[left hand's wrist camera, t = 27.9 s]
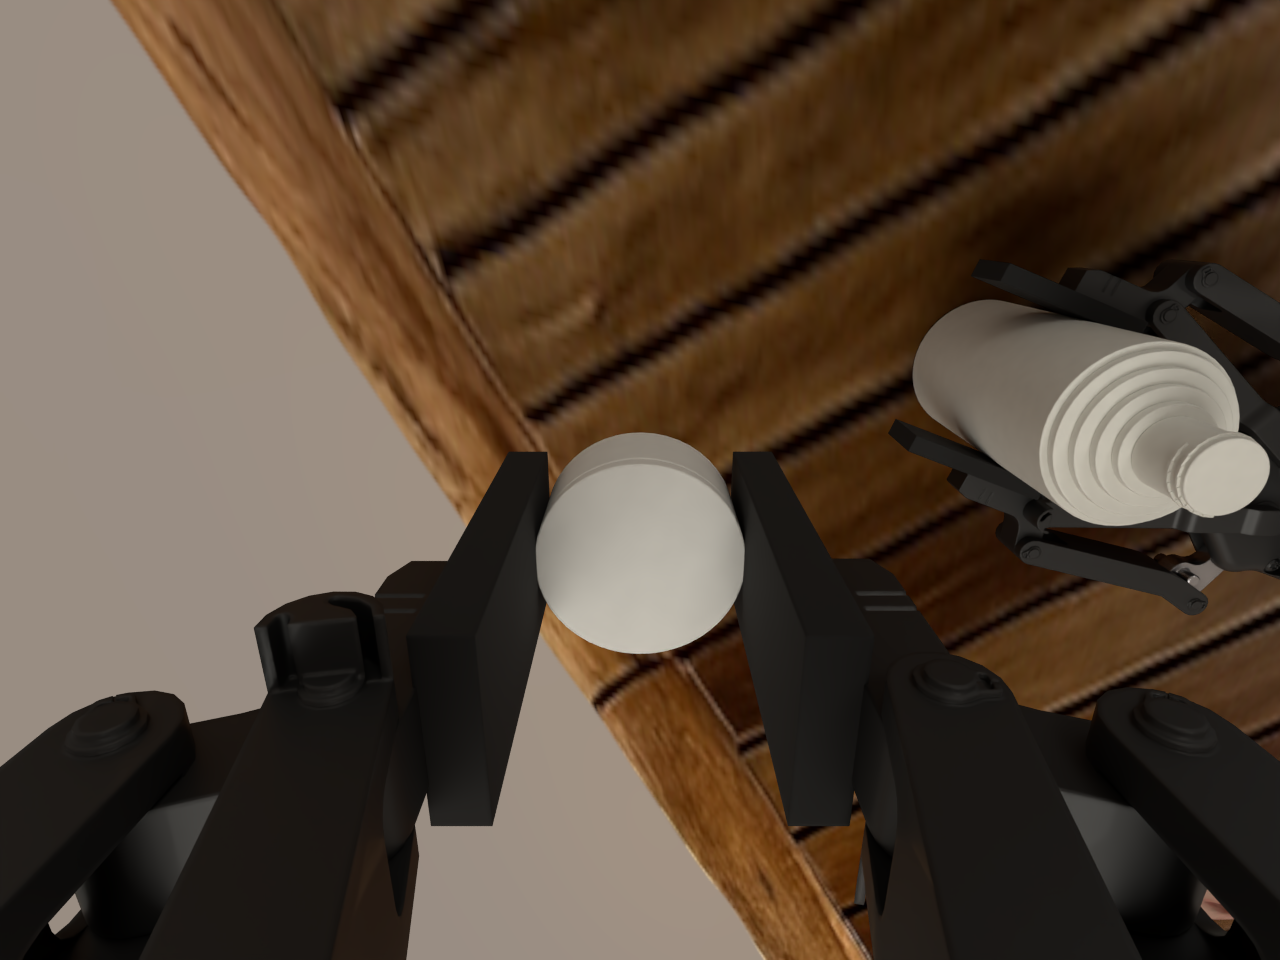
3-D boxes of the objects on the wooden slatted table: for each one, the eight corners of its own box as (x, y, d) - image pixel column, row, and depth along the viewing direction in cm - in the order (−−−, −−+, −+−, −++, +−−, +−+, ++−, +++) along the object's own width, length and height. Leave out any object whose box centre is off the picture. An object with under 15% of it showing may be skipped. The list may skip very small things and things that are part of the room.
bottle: (929, 293, 36) (1156, 353, 20) (1062, 306, 36) (1390, 377, 20) (899, 423, 39) (1080, 569, 23) (1023, 435, 39) (1289, 588, 23)
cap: (550, 600, 15) (537, 652, 13) (544, 430, 14) (530, 462, 12) (727, 603, 15) (739, 655, 13) (738, 433, 14) (753, 466, 12)
